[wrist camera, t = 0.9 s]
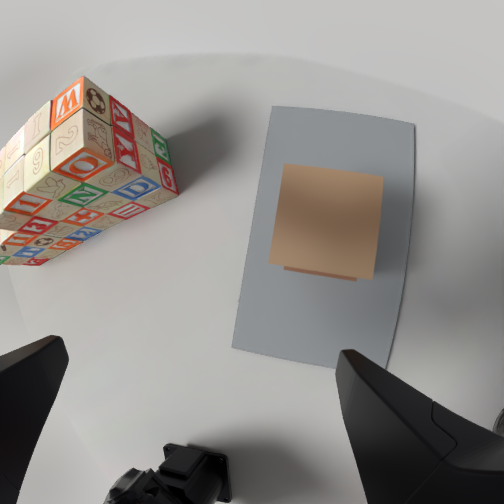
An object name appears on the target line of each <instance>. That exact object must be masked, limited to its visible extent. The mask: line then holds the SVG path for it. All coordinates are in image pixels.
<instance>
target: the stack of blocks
mask: <svg viewBox="0 0 504 504" xmlns="http://www.w3.org/2000/svg"><path fill="white" fill-rule="evenodd" d="M177 196H178V190H177V186H176V182H175V177H174V173H173V169H172V166H171V162H170V158H169V153H168V148H167V144H166V140H165V139H164V138H163V137H162V136H161V135H160V134H158V133H157V132H156V131H155V130H153V129H152V128H151V127H149V126H148V125H146V124H145V123H144V122H143V121H142V120H140V119H139V118H138V117H137V116H135V115H134V114H133V113H131V112H130V110H129V109H127V108H126V107H125V106H124V105H122V104H121V103H120V102H119V101H118V100H116V99H115V98H114V97H112V96H111V95H108V94H107V93H106V92H104V91H103V90H102V89H100V88H99V87H98V86H97V85H95V84H94V83H93V82H92V81H90V80H89V79H88V78H86V77H85V76H82V77H81V78H79V79H78V80H77V81H75V82H74V83H73V84H72V85H70V86H69V87H68V88H67V89H65V90H64V91H63V92H61V93H60V94H59V95H58V96H57V97H55V98H54V100H50V101H48V102H47V103H46V104H45V105H44V106H43V107H42V108H41V109H39V110H38V111H37V112H36V113H35V114H34V115H33V116H32V117H31V118H30V119H29V120H28V121H27V123H26V124H25V125H24V126H23V127H22V128H21V129H20V130H19V131H18V132H17V133H16V134H15V135H14V136H13V138H12V139H10V140H9V142H8V143H7V145H6V146H5V147H4V148H3V149H2V150H1V151H0V265H1V264H6V265H29V266H39V265H41V264H42V263H44V262H46V261H47V260H49V259H51V258H54V257H56V256H57V255H59V254H61V253H63V252H64V251H66V250H68V249H70V248H72V247H74V246H76V245H78V244H80V243H82V242H83V240H86V239H88V238H90V237H92V236H94V235H95V234H97V233H99V232H101V231H103V230H105V229H107V228H109V227H111V226H113V225H115V224H117V223H119V222H121V221H123V220H126V219H128V218H131V217H133V216H135V215H137V214H139V213H141V212H143V211H146V210H148V209H150V208H152V207H155V206H157V205H159V204H162V203H164V202H166V201H168V200H171V199H173V198H175V197H177Z"/></svg>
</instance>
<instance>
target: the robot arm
mask: <svg viewBox="0 0 504 504" xmlns="http://www.w3.org/2000/svg"><path fill="white" fill-rule="evenodd" d="M68 362H69V357H68V353H67V350H66V347H65V344H64V341H63V339H62V338H61V337H60V336H55V335H50V336H47V337H45V338H43V339H40V340H38V341H35V342H33V343H31V344H28V345H26V346H23V347H21V348H19V349H16V350H14V351H11V352H9V353H7V354H4V355H2V356H0V504H16V502H17V499H18V496H19V493H20V492H19V491H20V489H21V486H22V482H23V480H24V477H25V474H26V471H27V468H28V465H29V462H30V460H31V457H32V454H33V452H34V448H35V446H36V444H37V441H38V439H39V436H40V434H41V431H42V429H43V426H44V424H45V422H46V419H47V417H48V415H49V412H50V410H51V408H52V405H53V403H54V401H55V399H56V396H57V394H58V391H59V388H60V385H61V382H62V379H63V376H64V374H65V371H66V368H67V365H68ZM335 375H336V382H337V388H338V393H339V399H340V405H341V410H342V416H343V420H344V424H345V427H346V430H347V433H348V437H349V440H350V443H351V447H352V450H353V453H354V457H355V460H356V464H357V467H358V470H359V474H360V477H361V481H362V484H363V488H364V492H365V495H366V499H367V502H368V504H504V437H503V436H501V435H498V434H496V433H494V432H492V431H490V430H487V429H485V428H483V427H481V426H479V425H477V424H475V423H473V422H471V421H469V420H467V419H465V418H463V417H461V416H459V415H457V414H455V413H454V412H452V411H450V410H448V409H447V408H445V407H443V406H442V405H440V404H439V403H437V402H435V401H433V400H432V399H430V398H429V397H427V396H426V395H424V394H423V393H421V392H419V391H418V390H416V389H415V388H413V387H412V386H410V385H408V384H407V383H405V382H404V381H402V380H401V379H399V378H398V377H396V376H395V375H393V374H391V373H390V372H388V371H387V370H385V369H384V368H382V367H381V366H379V365H378V364H376V363H375V362H373V361H371V360H370V359H368V358H367V357H365V356H364V355H362V354H361V353H359V352H358V351H356V350H355V349H343V350H341V351H340V353H339V357H338V362H337V367H336V373H335ZM168 448H169V449H170V450H169V449H168ZM163 450H164V455H165V461H164V462H163V463H162V464H161V465H160V466H159V469H158V470H157V471H156V472H154V471H153V470H152V469H151V468H150V469H148V470H146V471H140V470H137V469H135V468H132V469H130V470H129V471H127V472H126V473H125V474H124V475H122V476H121V477H120V478H119V479H118V480H117V481H116V482H115V484H114V485H113V486H112V488H111V489H110V491H109V493H108V495H107V497H106V499H105V501H104V503H103V504H214V503H215V502H216V501H219V502H225V503H229V502H231V500H232V494H231V485H230V475H229V465H228V458H227V456H225V455H223V454H217V453H211V452H205V451H201V450H196V449H191V448H186V447H181V446H180V447H179V446H175V445H170V444H166V445H165V446H164V447H163ZM220 458H221V459H223V460H221V459H220ZM226 498H227V499H226Z"/></svg>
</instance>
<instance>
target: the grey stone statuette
mask: <svg viewBox="0 0 504 504" xmlns="http://www.w3.org/2000/svg"><path fill="white" fill-rule="evenodd" d="M493 432H494V433H496V434H498V435H501V436H503V437H504V409H503V410H502V411H501V413H500V414H499V416H498V418H497V419H496V422H495V424H494V428H493Z"/></svg>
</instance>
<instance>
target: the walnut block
mask: <svg viewBox="0 0 504 504" xmlns="http://www.w3.org/2000/svg"><path fill="white" fill-rule="evenodd" d="M383 181H384V177H382V176H376V175H370V174H364V173H357V172H351V171H344V170H336V169H329V168H321V167H313V166H304V165H295V164H285V163H284V167H283V173H282V180H281V186H280V193H279V199H278V205H277V212H276V218H275V224H274V230H273V237H272V243H271V249H270V255H269V261H268V263H270V264H276V265H281V266H284V269H283V270H288V271H294V272H300V273H306V274H312V275H318V276H324V277H330V278H337V279H343V280H349V281H355V282H357V278H362V279H368V280H372V278H373V272H374V265H375V258H376V251H377V243H378V235H379V226H380V217H381V207H382V195H383Z"/></svg>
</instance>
